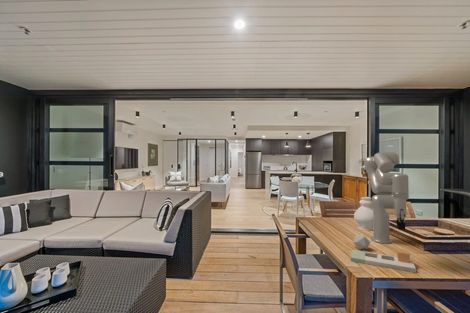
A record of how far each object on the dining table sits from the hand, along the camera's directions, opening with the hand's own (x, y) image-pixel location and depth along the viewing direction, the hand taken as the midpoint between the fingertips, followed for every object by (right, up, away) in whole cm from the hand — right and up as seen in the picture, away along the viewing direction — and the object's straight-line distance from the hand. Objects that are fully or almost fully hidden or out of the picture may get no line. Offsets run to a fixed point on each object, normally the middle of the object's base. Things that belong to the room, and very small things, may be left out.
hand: (400, 227), depth 135 cm
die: (-14, -18, +15) cm, 28 cm away
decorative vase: (+13, -19, +60) cm, 64 cm away
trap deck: (-14, -18, -4) cm, 23 cm away
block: (-4, -15, -7) cm, 17 cm away
